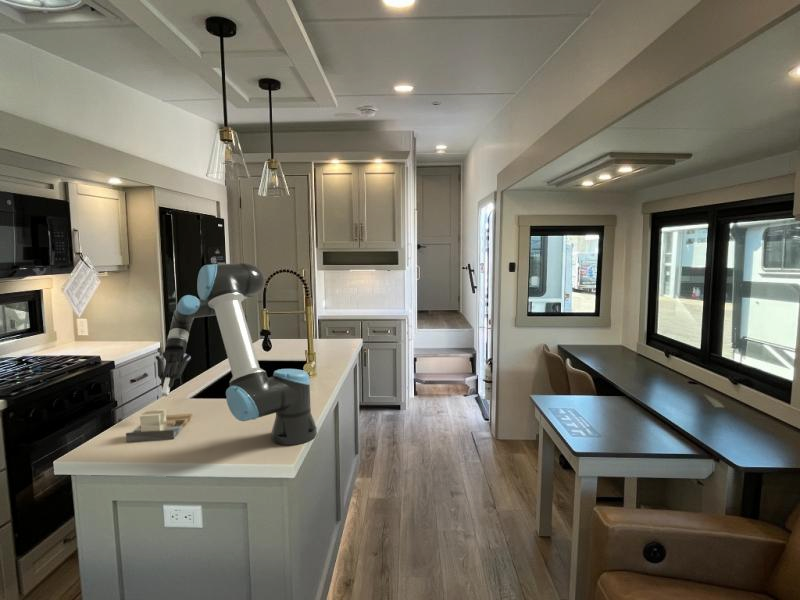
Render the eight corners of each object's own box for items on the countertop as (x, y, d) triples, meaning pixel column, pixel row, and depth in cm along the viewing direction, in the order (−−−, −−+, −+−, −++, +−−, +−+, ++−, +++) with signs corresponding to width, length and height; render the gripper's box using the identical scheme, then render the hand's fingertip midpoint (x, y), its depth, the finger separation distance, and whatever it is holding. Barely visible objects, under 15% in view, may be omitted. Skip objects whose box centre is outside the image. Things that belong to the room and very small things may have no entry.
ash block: (149, 429, 158) (147, 410, 157) (167, 427, 159) (165, 408, 158) (141, 436, 152) (139, 416, 151) (160, 434, 153) (158, 415, 152)
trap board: (151, 419, 171) (150, 412, 170) (192, 417, 173) (192, 409, 172) (126, 442, 151) (125, 433, 150) (173, 438, 153) (172, 430, 152)
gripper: (196, 346, 185) (186, 397, 170) (163, 348, 183) (149, 400, 168) (191, 335, 179) (180, 388, 164) (157, 337, 177) (142, 390, 163)
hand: (165, 394), depth 166 cm, fingers closed
